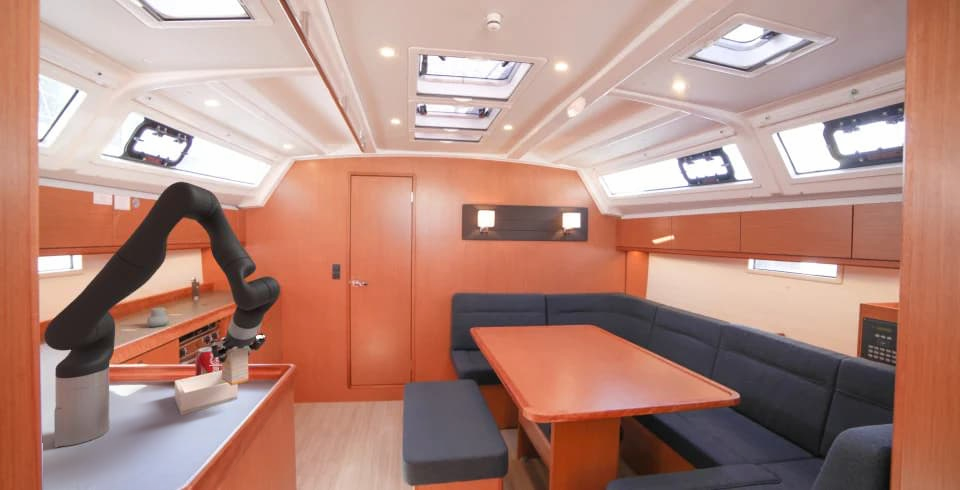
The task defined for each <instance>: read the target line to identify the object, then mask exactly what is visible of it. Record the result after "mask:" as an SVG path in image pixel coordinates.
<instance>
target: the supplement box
mask: <svg viewBox="0 0 960 490" xmlns="http://www.w3.org/2000/svg"><path fill="white" fill-rule="evenodd" d="M225 337H226V336H225ZM225 337H222V338H220V341H222V340H223V339H224V338H225ZM222 347H223V345H222V346H220V349H221V348H222ZM221 370H222V379H223V380H225V381H226V382H227V383H229V384H230V385H236V384H242V383H245V382H249V356H248V350H247V351H246V350H245V348H238V349H235V350H233V351H232V352H231V353H230V354H227V355H226V358H225V361H224V362H223V363H221Z"/></svg>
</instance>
